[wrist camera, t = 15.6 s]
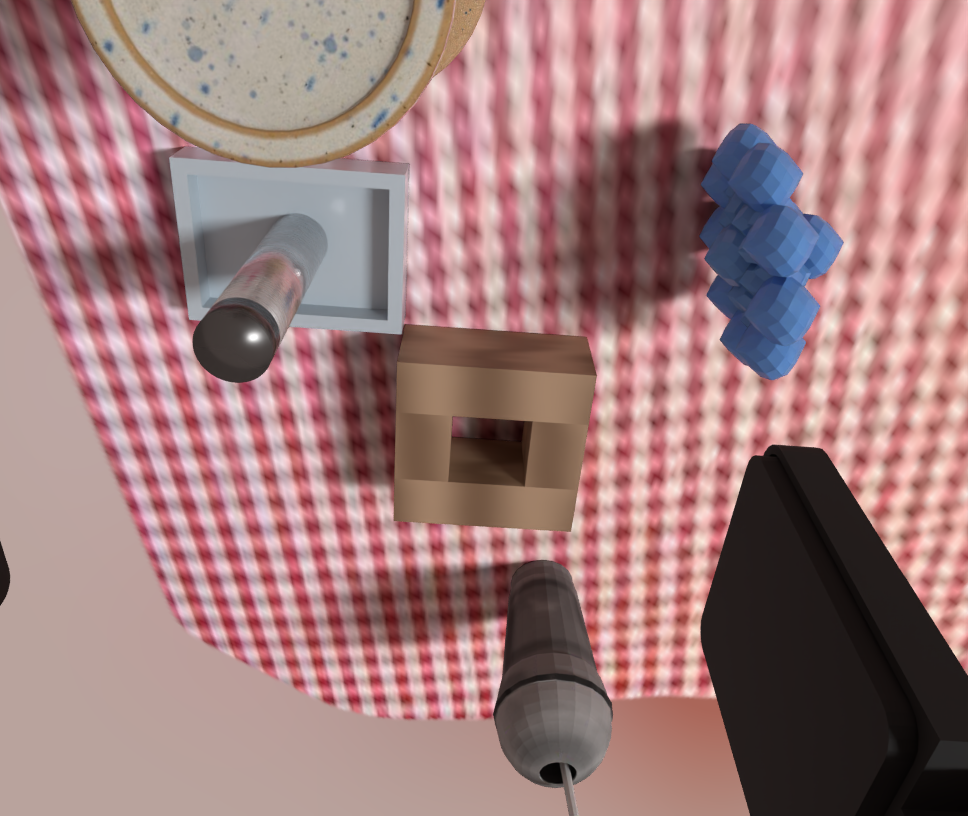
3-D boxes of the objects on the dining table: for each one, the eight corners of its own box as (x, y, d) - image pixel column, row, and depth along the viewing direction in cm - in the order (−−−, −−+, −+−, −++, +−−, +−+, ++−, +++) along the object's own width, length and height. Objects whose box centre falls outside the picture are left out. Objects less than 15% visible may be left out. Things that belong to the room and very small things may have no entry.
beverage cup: (533, 528, 55) (554, 793, 38) (612, 575, 57) (665, 846, 40) (472, 591, 58) (466, 862, 41) (549, 633, 60) (574, 908, 43)
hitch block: (586, 337, 48) (596, 375, 43) (564, 484, 53) (570, 531, 49) (405, 324, 47) (397, 362, 43) (401, 474, 53) (393, 520, 49)
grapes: (794, 305, 47) (882, 407, 36) (679, 318, 47) (733, 423, 37) (810, 98, 41) (919, 150, 31) (678, 116, 41) (742, 172, 31)
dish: (409, 163, 43) (405, 175, 40) (405, 316, 47) (401, 334, 45) (185, 146, 42) (169, 157, 40) (202, 302, 47) (189, 319, 45)
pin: (327, 215, 43) (269, 314, 31) (328, 271, 45) (274, 385, 33) (268, 211, 43) (188, 308, 31) (271, 267, 45) (196, 379, 33)
